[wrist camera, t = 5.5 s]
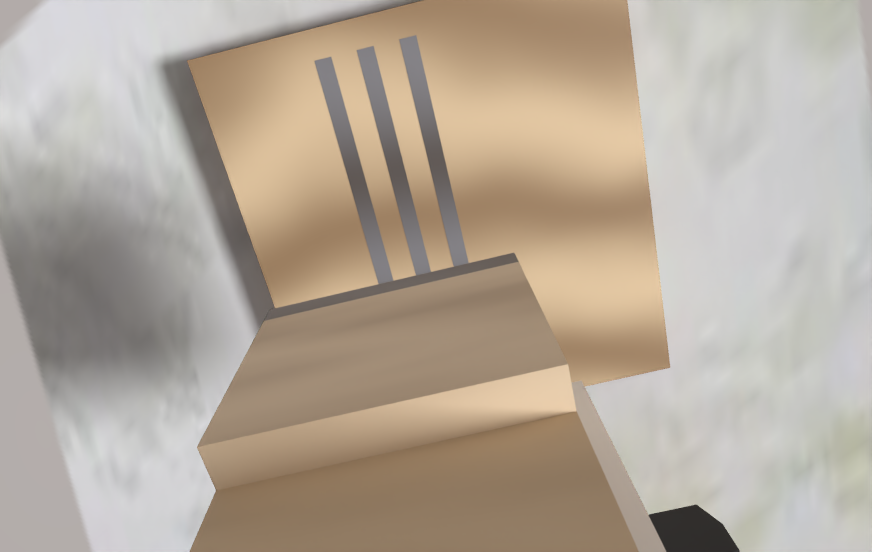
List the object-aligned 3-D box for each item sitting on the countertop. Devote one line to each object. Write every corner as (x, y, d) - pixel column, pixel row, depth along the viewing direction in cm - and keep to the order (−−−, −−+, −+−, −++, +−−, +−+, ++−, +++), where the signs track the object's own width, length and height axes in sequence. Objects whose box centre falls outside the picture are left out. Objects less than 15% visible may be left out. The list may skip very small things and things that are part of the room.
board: (657, 350, 28) (670, 367, 26) (328, 424, 28) (323, 444, 27) (608, -45, 22) (621, -51, 21) (200, 59, 23) (186, 60, 21)
